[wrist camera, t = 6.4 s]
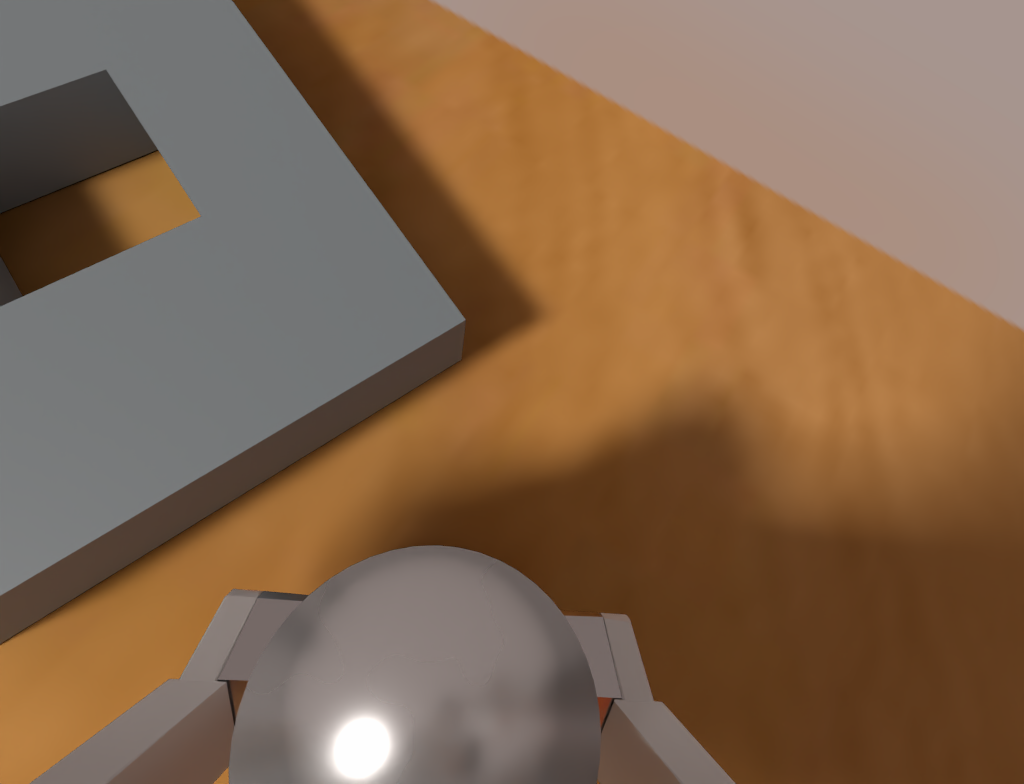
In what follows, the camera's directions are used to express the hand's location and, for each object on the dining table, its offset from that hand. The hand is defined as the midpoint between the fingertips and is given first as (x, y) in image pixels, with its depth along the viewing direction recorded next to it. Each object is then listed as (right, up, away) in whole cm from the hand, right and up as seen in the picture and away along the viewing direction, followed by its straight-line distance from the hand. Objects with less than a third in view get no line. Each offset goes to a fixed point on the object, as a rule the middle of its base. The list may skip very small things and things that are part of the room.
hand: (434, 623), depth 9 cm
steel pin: (-1, -2, +5) cm, 5 cm away
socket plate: (-11, +9, +7) cm, 16 cm away
